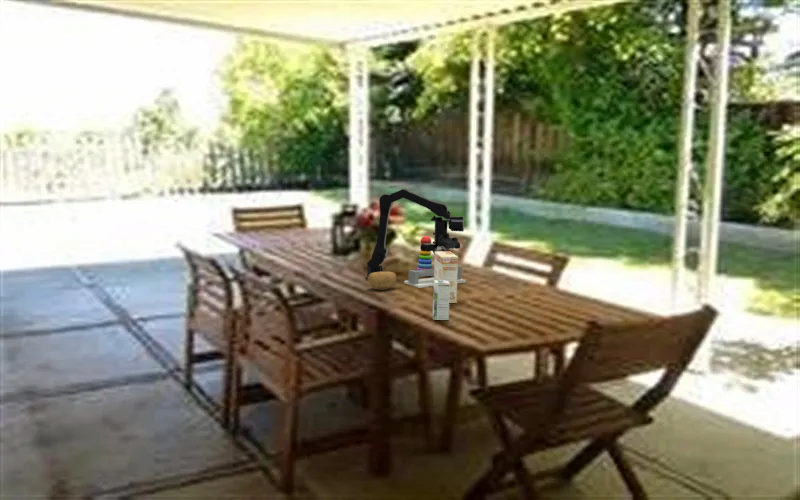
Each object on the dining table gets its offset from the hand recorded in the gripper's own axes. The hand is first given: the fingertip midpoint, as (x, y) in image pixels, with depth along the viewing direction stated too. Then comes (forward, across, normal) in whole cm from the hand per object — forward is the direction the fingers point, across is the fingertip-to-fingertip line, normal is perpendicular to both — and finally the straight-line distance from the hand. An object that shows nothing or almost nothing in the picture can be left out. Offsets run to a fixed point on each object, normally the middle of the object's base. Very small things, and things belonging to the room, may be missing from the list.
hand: (440, 264), depth 407 cm
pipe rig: (+8, -2, 0) cm, 8 cm away
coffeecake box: (+8, -20, -32) cm, 39 cm away
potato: (+8, -32, -1) cm, 33 cm away
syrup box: (+8, -42, -58) cm, 72 cm away
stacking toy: (+8, +4, +17) cm, 19 cm away
